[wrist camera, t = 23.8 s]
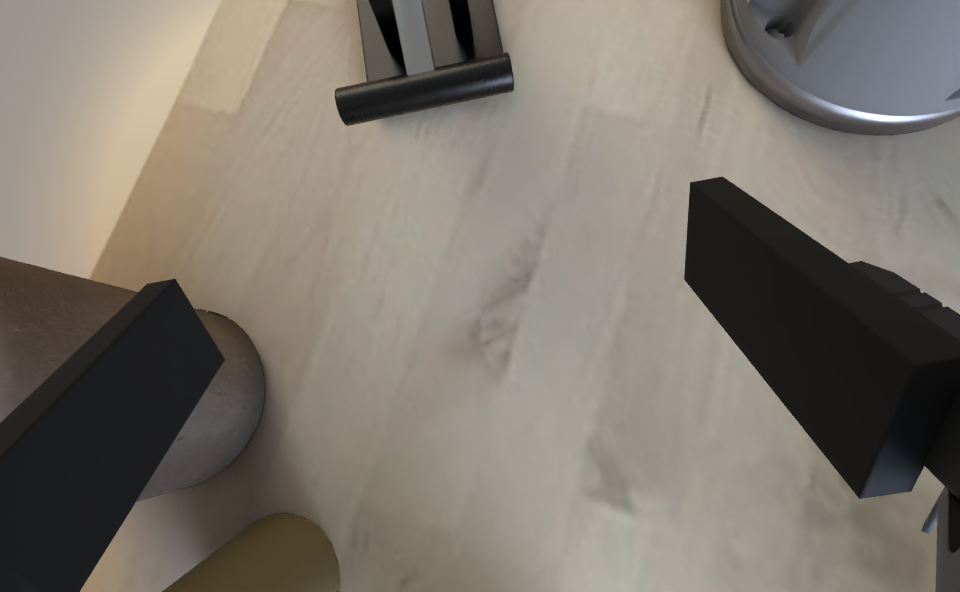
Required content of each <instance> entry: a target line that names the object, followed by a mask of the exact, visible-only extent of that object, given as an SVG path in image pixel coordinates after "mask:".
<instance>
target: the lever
mask: <svg viewBox="0 0 960 592" xmlns="http://www.w3.org/2000/svg"><path fill="white" fill-rule="evenodd" d="M392 2H393V7H394V12H395V17H396V22H397V27H398V32H399V37H400V42H401V47H402V52H403V57H404V62H405V67H406V72H407V74H402V75H398V76H393V77H388V78H384V79H379V80H374V81H370V82H365V83H360V84H355V85H351V86H346V87H341V88H337V89H336V90H335V100H336V105H337V109H338V112H339V115H340V117H341V119H342V121H343V122H344V124H345V125H347V126H349V125H354V124H359V123H364V122H369V121H373V120H378V119H383V118H388V117H393V116H397V115H402V114H407V113H412V112H417V111H421V110H426V109H431V108H436V107H440V106H445V105H450V104H455V103H460V102H464V101H469V100H474V99H479V98H484V97H488V96H493V95H498V94H503V93H508V92H512V91H514V80H513V72H512V66H511V60H510V56H509V54H508V53H507V52H505V53H500V54H496V55H491V56H486V57H482V58H477V59H472V60H468V61H463V62H458V63H454V64H449V65H444V66H440V67H435V62H434V57H433V51H432V46H431V41H430V36H429V31H428V26H427V20H426V15H425V10H424V5H423V0H392Z"/></svg>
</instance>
